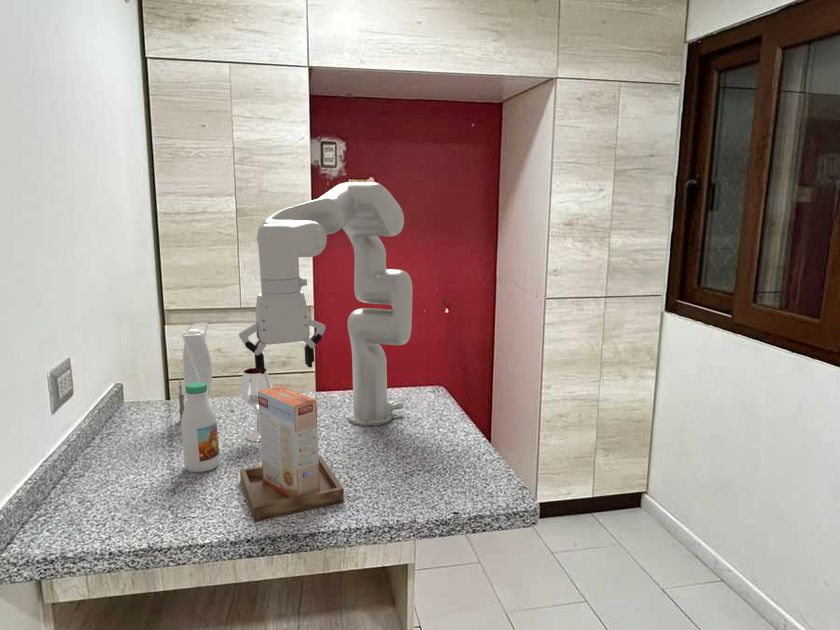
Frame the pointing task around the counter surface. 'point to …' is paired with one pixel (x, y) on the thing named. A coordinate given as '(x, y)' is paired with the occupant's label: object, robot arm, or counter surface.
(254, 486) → the walnut tray
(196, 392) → the milk bottle
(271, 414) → the cracker box
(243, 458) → the counter surface
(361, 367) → the robot arm
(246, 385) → the wineglass
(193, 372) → the skyscraper
